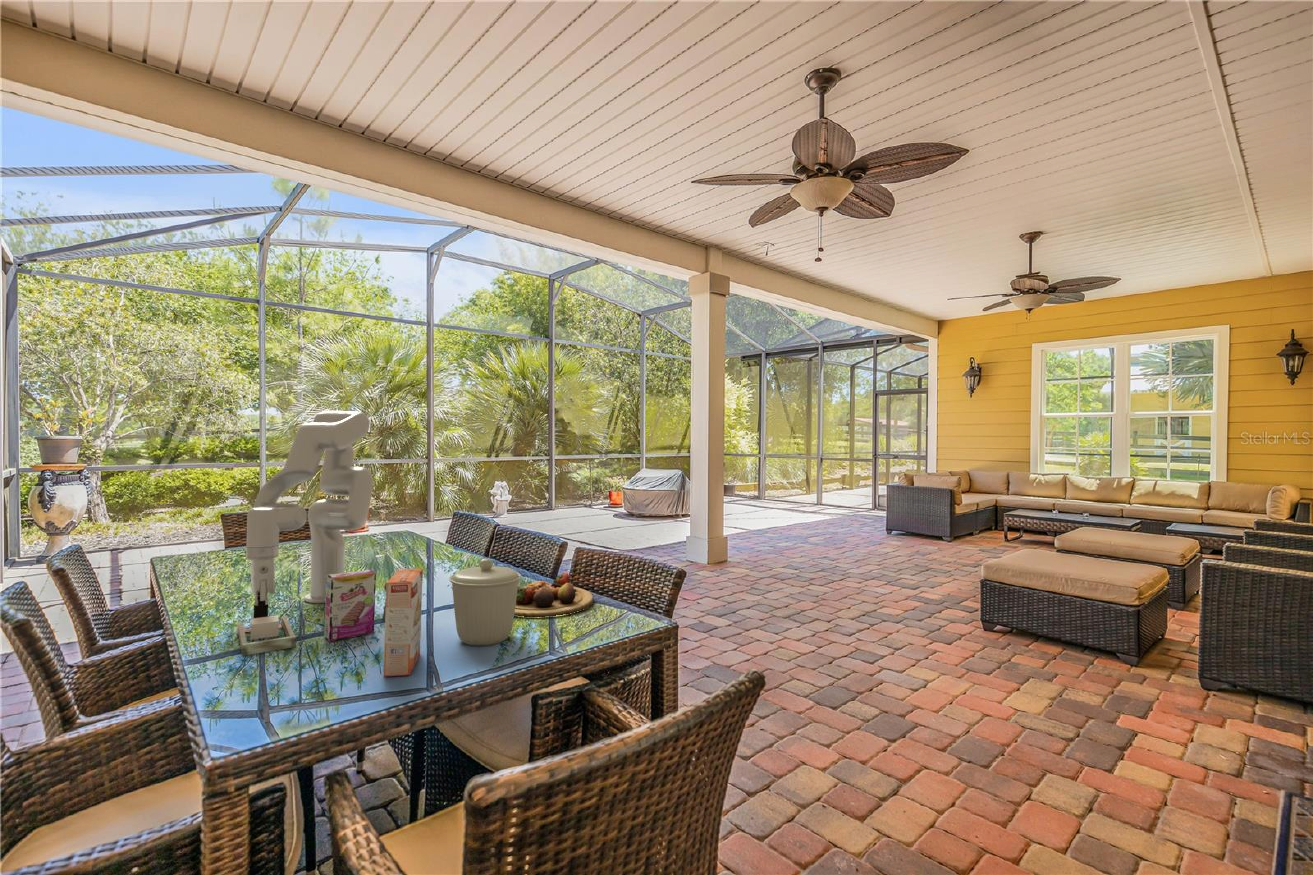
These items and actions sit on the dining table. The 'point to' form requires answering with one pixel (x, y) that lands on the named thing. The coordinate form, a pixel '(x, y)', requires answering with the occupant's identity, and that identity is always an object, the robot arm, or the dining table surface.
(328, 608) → the candy bar box
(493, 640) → the canister
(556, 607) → the wooden plate with food
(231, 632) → the dining table surface
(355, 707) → the dining table surface
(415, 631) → the cracker box
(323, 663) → the dining table surface
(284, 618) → the finger lane
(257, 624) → the cream block
